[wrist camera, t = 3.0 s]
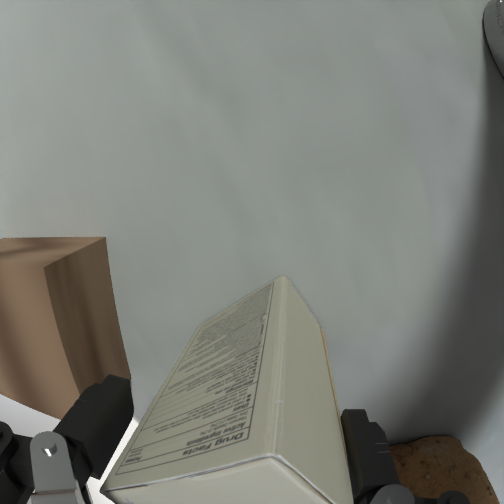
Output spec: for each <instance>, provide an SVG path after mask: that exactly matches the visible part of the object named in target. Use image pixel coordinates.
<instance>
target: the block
mask: <svg viewBox="0 0 504 504" xmlns="http://www.w3.org/2000/svg"><path fill="white" fill-rule="evenodd" d="M389 448H390V453H391V454H392V457H393V461H394V464H395V467H396V471H397V474H398V477H399V481H400V483H401V485H402V486H404V487H406V488H407V489H409V490H410V491H411V492H412V494H413V496H417V497H424V498H435V499H438V498H439V497H440V496H441V495H442V494H443V493H445V492H447V491H452V490H453V491H459V492H462V493H463V494H465V495H466V496H467V497H468V499H469V501H470V504H500V503H499V501H498V498H497V496H496V494H495V492H494V490H493V487H492V485H491V483H490V481H489V480H488V477H487V475H486V473H485V471H484V470H483V468H482V466H481V463H480V462H479V461H478V459H477V458H476V457H475V456H474V455H472V454H471V453H469V452H467V451H466V450H465V449H464V448H463V446H462V444H461V442H460V441H459V440H457V439H456V438H454V437H447V436H431V437H426V438H421V439H418V440H415V441H414V442H411V443H409V444H403V443H401V444H398V445H394V446H389Z"/></svg>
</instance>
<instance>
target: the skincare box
mask: <svg viewBox="0 0 504 504" xmlns="http://www.w3.org/2000/svg"><path fill="white" fill-rule="evenodd" d="M100 493H101V494H103V495H105V496H106V497H107V498H108V499H110V500H111V501H113V502H114V503H115V504H354V502H353V495H352V488H351V481H350V475H349V467H348V461H347V454H346V448H345V442H344V435H343V430H342V424H341V418H340V413H339V407H338V402H337V396H336V391H335V386H334V381H333V375H332V370H331V365H330V360H329V355H328V350H327V345H326V340H325V335H324V332H323V330H322V328H321V327H320V325H319V324H318V322H317V321H316V319H315V317H314V316H313V314H312V313H311V311H310V310H309V308H308V307H307V305H306V304H305V302H304V301H303V299H302V298H301V296H300V295H299V293H298V292H297V291H296V289H295V288H294V286H293V285H292V284H291V282H290V281H289V279H288V278H287V277H286V276H281V277H279V278H277V279H275V280H274V281H272V282H270V283H269V284H267V285H265V286H263V287H262V288H260V289H258V290H257V291H255V292H253V293H252V294H250V295H249V296H247V297H245V298H244V299H242V300H240V301H239V302H237V303H235V304H234V305H232V306H231V307H229V308H227V309H225V310H224V311H222V312H221V313H219V314H217V315H216V316H214V317H213V318H211V319H210V320H208V321H206V322H205V323H203V324H202V325H200V326H199V327H198V328H197V329H196V331H195V333H194V334H193V336H192V337H191V339H190V341H189V342H188V344H187V346H186V347H185V349H184V351H183V352H182V354H181V356H180V357H179V359H178V360H177V362H176V364H175V365H174V367H173V369H172V370H171V372H170V373H169V375H168V377H167V378H166V380H165V382H164V383H163V385H162V387H161V388H160V390H159V392H158V394H157V395H156V397H155V398H154V400H153V402H152V403H151V405H150V407H149V408H148V410H147V412H146V413H145V415H144V416H143V418H142V420H141V422H140V423H139V425H138V427H137V428H136V430H135V432H134V433H133V435H132V437H131V439H130V440H129V442H128V443H127V445H126V447H125V448H124V450H123V452H122V453H121V455H120V457H119V458H118V460H117V461H116V463H115V465H114V466H113V468H112V470H111V472H110V473H109V475H108V477H107V478H106V480H105V482H104V484H103V485H102V487H101V488H100Z"/></svg>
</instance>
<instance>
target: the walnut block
mask: <svg viewBox="0 0 504 504" xmlns="http://www.w3.org/2000/svg"><path fill="white" fill-rule="evenodd" d="M109 374H113V375H116V376H120V377H124V378H127V379H129V380H130V378H131V374H130V370H129V366H128V362H127V358H126V354H125V349H124V345H123V341H122V336H121V331H120V326H119V321H118V316H117V311H116V306H115V300H114V294H113V288H112V282H111V275H110V268H109V261H108V253H107V245H106V237H40V238H3V239H0V394H2V395H4V396H6V397H8V398H10V399H12V400H14V401H16V402H19V403H21V404H23V405H25V406H28V407H30V408H32V409H35V410H37V411H39V412H42V413H44V414H47V415H50V416H52V417H55V418H58V419H60V420H62V418H63V417H64V416H65V414H66V413H67V412H68V411H69V409H70V408H71V407H72V406H73V404H74V403H75V402H76V400H77V399H79V396H80V395H81V394H82V393H83V391H84V390H85V389H86V388H88V387H89V386H91V385H93V384H94V383H98V384H101V383H102V382H103V381H104V379H105V378H106V377H107V376H108V375H109Z"/></svg>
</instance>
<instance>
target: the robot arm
mask: <svg viewBox="0 0 504 504" xmlns="http://www.w3.org/2000/svg"><path fill="white" fill-rule="evenodd" d="M484 29H485V33H486V37H487V42H488V44H489V47H490V50H491V52H492V55H493V57H494V60H495V62H496V64H497V66H498V68H499V70H500V72H501V73H502V75H503V77H504V0H491V1H490V2H488V4H487V6H486V8H485V12H484ZM133 413H134V405H133V399H132V393H131V387H130V381H129V379H127V378H124V377H120V376H116V375H113V374H109V375H108V376H107V377H106V378H105V379H104V381H103V382H102V383H101V384H98V383H94V384H93V385H91V386H89V387H88V388H86V389H85V390H84V391H83V393H82V394H81V395H80V396H79V399H77V400H76V402H75V403H74V404H73V406H72V407H71V408H70V409H69V411H68V412H67V413H66V414H65V416H64V417H63V418H62V420H61V421H60V422H59V424H58V425H57V426H56V428H55V429H54V430H53V431H52V432H50V431H46V432H41V433H39V434H37V435H36V436H35V437H34V438H32V437H26V436H21V435H17V434H14V433H13V432H12V430H11V428H10V427H9V425H8V424H6V423H4V422H1V421H0V504H26V503H27V502H28V500H29V498H30V496H31V502H32V504H93V501H92V498H91V495H90V492H89V489H88V486H87V481H88V479H89V477H90V476H91V477H93V478H96V479H98V480H100V479H101V477H102V474H103V473H104V471H105V469H106V467H107V465H108V463H109V461H110V459H111V458H112V456H113V454H114V452H115V450H116V448H117V446H118V444H119V443H120V441H121V439H122V437H123V435H124V433H125V431H126V430H127V428H128V426H129V424H130V422H131V420H132V417H133ZM341 424H342V430H343V435H344V442H345V448H346V454H347V461H348V467H349V475H350V481H351V488H352V495H353V502H354V504H470V501H469V499H468V497H467V496H466V495H465V494H463V493H462V492H459V491H453V490H452V491H447V492H445V493H443V494H442V495H441V496H440V497H439V498H438V499H435V498H424V497H417V496H413V494H412V492H411V491H410V490H409V489H407V488H406V487H404V486H402V485H401V483H400V481H399V477H398V474H397V471H396V467H395V464H394V461H393V457H392V454H391V453H390V448H389V445H388V444H387V443H388V441H387V438H386V435H385V432H384V431H383V429H382V428H381V427H380V426H379V425H378V424H377V423H376V422H369V420H368V417H367V414H366V411H365V410H364V409H345V410H344V411H343V413H342V415H341ZM1 471H2V472H1ZM34 489H35V493H32V492H33V491H34Z"/></svg>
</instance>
